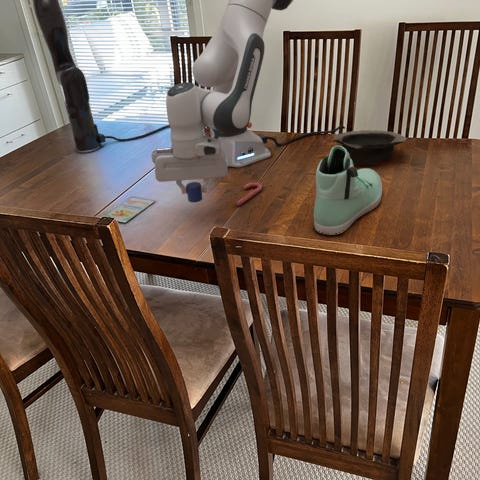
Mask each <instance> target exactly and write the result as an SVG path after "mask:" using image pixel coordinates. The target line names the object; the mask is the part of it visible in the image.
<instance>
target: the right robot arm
mask: <svg viewBox="0 0 480 480" xmlns="http://www.w3.org/2000/svg"><path fill="white" fill-rule="evenodd" d="M293 2H294V0H228V2H227V5H226V7H225V10H224V12H223V15H222V17H221V20H220V21H219V24H218V26H217V28H216V29H215V32H214V33H213V35H212V36H211V38H210V39H209V41H208V43H207V45H206V46H205V48H204V49H203V51H202V53H201V54H200V55H199V56H198V57H197V58H196V59H195V61H194V62H193V65H192V68H191V69H192V76H193V79H194V81H196V83H197V84H198V85H199V86H197V85H195V84H194V82H180V83H177V84H175V85H173V86H171V87H170V88H169V89H168V90H167V92H166V98H165V106H166V117H167V122H168V125H170V127H169V128H170V135H169V137H170V143H171V147H163V148H160V147H159V148H158V147H157V148H156V149H154V150H153V151H152V152H151V155H150V156H151V160H152V161H151V162H152V163H153V164H154V175H155V177H154V178H155V179H156V181H158V182H159V183H162V182H163V183H165V182H166V183H167V182H175V183H176V186H177V187H179V189H180V190H181V195H187V188H186V185H184V184H183V182H182V181H191V180H192V181H193V180H203V182H204V183H203V184H201V193H202V194H204V193H207V186H208V184H209V182H210V179H219V178H220V179H221V178H226V177H227V176H228V175H229V168H228V167H232V168H242V167H246V166H249V165H251V164H254V163H257V162H261V161H264V160H265V159H268V158H271V156H272V154H271V151H270V150H269V148H267V147H265V145H266V144H268V140H271V141H273V143H274V144H275V145H276V146H278V147H282V146H285V145H288V144H290V143H292V142H294V141H297V140H299V139H302V138H305V137H308V136H313V135H325V134H333V133H336V132H338V131H339V130H340V129H342V130H345V129H346V127H345V126H344V125H342V124H341V125H339V126H337V127H336V128H334V129H330V130H321V131H311V132H305V133H302V134H300V135H298V136H295V137H293V138H290V139H288V140H287V141H285V142H282V143H281V142H280V143H279V142H278V141H277V139H276V138H275V137H273V136H268V135H267V136H266V135H264V134H262V133H258V134H256V132H253V131H252V130H250V129H251V128H252V127H253V123H252V122H250V121H251V116H252V107H253V106H252V105H253V100H254V95H255V91H256V88H257V83H258V81H259V76H260V73H261V69H262V65H263V60H264V56H265V49H266V48H265V42H264V32H265V29H266V26H267V23H268V21H269V18H270V15H271V11H272V10H275V11H284V10H287V9H288V8H289V6H290V5H291V4H292V3H293ZM200 86H201V87H200ZM202 87H203V88H202ZM206 88H208V89H206ZM209 88H213V89H209ZM205 128H206V129H207V128H209V130H210V131H209V132H210V136H207V135H204V129H205Z"/></svg>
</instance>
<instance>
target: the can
mask: <svg viewBox="0 0 480 480" xmlns="http://www.w3.org/2000/svg"><path fill="white" fill-rule="evenodd" d="M201 185H202V184H201V182H199V181H191V182H188V183H187V184H186V185H185V186H186V188H187V194H186V195H187V201H188V202H189V203H194V204H195V203H199V202H201V201H202V200H203V193H201Z"/></svg>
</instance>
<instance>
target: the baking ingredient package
mask: <svg viewBox="0 0 480 480" xmlns="http://www.w3.org/2000/svg"><path fill="white" fill-rule="evenodd" d="M153 203H155V201H154V200H150V199H145V198H137V197H130V198H129V199H128V200H125V201H123V203H122V204H120V205H119V206H117V207H115V208H114V209H112V210H111V211H110V212H108V213H107V214H105V215H104V216H106V217H114V218H115V219H116V220H117V221H116V222H120V223H127V222H129V221H130V220H131V219H132V218H134V217H135V216H137V215H138V214H140V213H141V212H142V211H143V210H145V209H146V208H148V207H149V206H150V205H152V204H153Z"/></svg>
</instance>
